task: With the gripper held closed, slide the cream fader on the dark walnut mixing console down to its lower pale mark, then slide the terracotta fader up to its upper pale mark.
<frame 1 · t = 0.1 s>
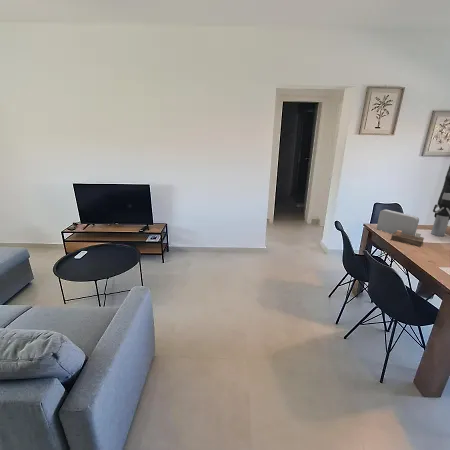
hand: (442, 218, 222), 17 cm above the table, tool pointing down, fingers open, 8 cm apart
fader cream: (418, 234, 217), point 6 cm above the table, slide at 6.0 cm
console: (406, 241, 221), on the table
rounded white slab: (394, 233, 237), on the table
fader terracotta: (399, 233, 220), point 6 cm above the table, slide at -6.0 cm
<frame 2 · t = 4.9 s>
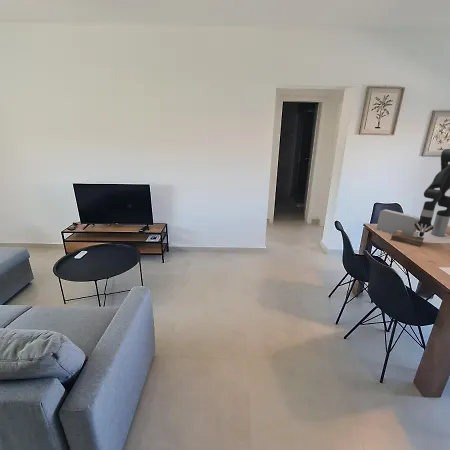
hand: (420, 236, 216), 5 cm above the table, tool pointing down, fingers closed
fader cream: (415, 234, 218), point 6 cm above the table, slide at 4.5 cm, touching gripper
everything else where it was.
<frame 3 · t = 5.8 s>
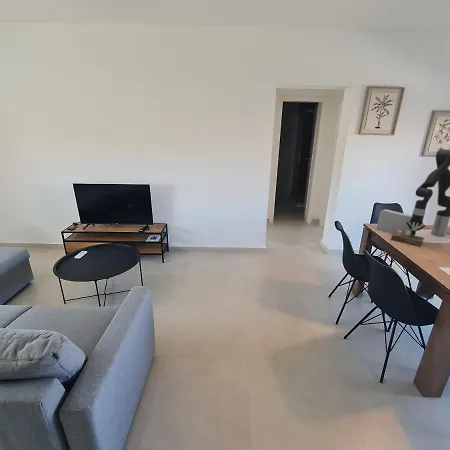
hand: (412, 234, 219), 5 cm above the table, tool pointing down, fingers closed
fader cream: (407, 232, 221), point 6 cm above the table, slide at -0.8 cm, touching gripper
everything else where it was.
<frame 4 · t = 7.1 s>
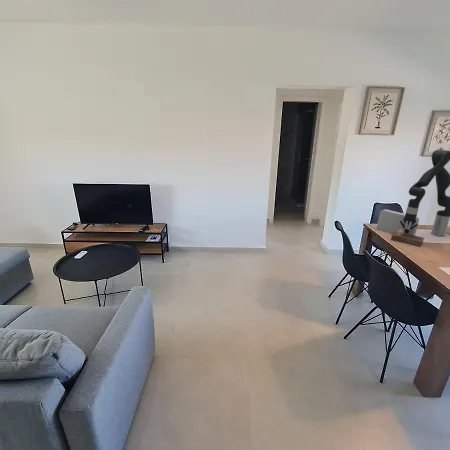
hand: (406, 233, 222), 5 cm above the table, tool pointing down, fingers closed
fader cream: (401, 231, 224), point 6 cm above the table, slide at -5.4 cm, touching gripper
everything else where it was.
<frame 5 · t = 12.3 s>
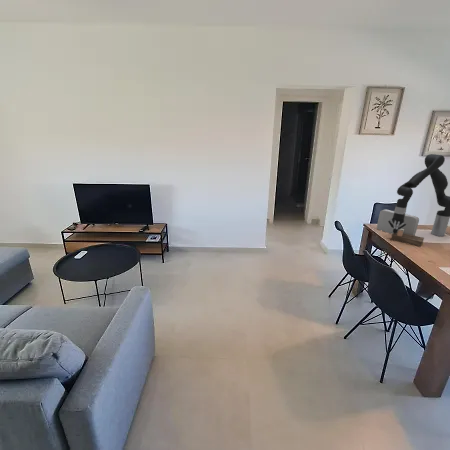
hand: (394, 233, 222), 5 cm above the table, tool pointing down, fingers closed
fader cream: (401, 231, 224), point 6 cm above the table, slide at -5.5 cm
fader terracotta: (400, 233, 220), point 6 cm above the table, slide at -5.2 cm, touching gripper
everything else where it was.
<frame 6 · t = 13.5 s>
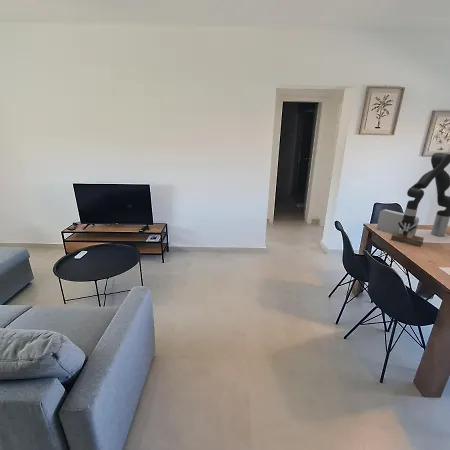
hand: (404, 235, 218), 5 cm above the table, tool pointing down, fingers closed
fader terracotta: (410, 235, 216), point 6 cm above the table, slide at 1.7 cm, touching gripper
everything else where it was.
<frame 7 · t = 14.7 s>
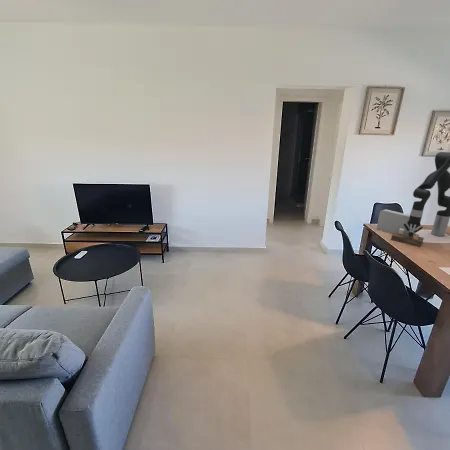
hand: (410, 236, 216), 5 cm above the table, tool pointing down, fingers closed
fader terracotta: (416, 236, 213), point 6 cm above the table, slide at 5.5 cm, touching gripper
everything else where it was.
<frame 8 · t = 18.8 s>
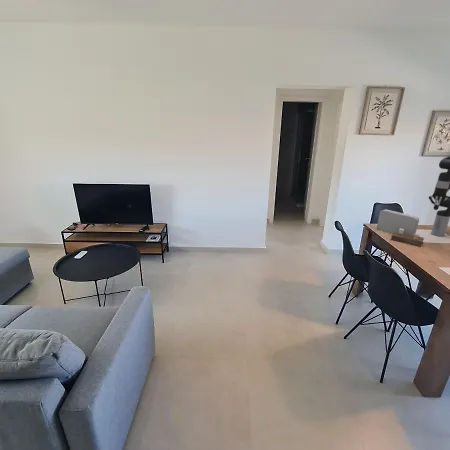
hand: (435, 209, 210), 27 cm above the table, tool pointing down, fingers closed
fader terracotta: (416, 236, 213), point 6 cm above the table, slide at 5.5 cm
everything else where it was.
at the end: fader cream slide at -5.5 cm; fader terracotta slide at 5.5 cm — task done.
